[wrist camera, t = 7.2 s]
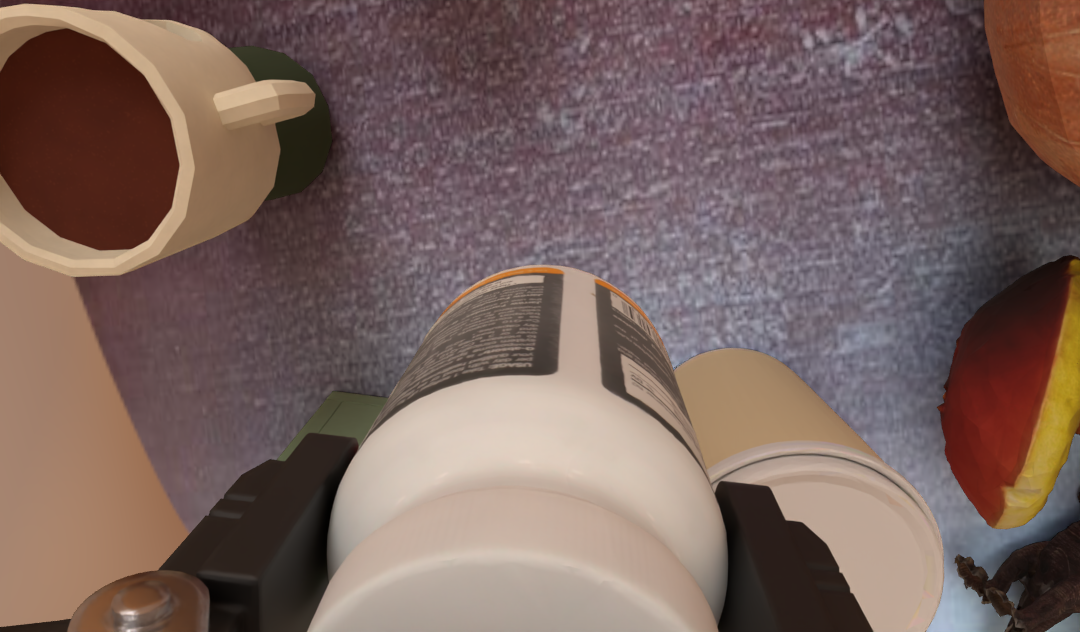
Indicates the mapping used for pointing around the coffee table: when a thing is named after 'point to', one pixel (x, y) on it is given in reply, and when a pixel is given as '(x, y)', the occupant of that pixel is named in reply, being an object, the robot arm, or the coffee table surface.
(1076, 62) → the jug
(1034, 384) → the mushroom
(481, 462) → the pill bottle
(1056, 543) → the dinosaur model
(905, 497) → the coffee cup
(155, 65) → the character mug
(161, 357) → the coffee table surface
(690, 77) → the coffee table surface
